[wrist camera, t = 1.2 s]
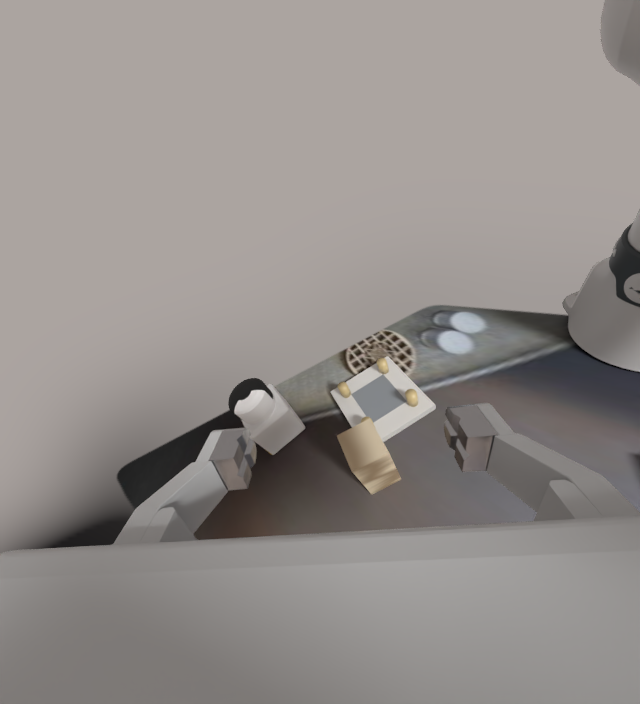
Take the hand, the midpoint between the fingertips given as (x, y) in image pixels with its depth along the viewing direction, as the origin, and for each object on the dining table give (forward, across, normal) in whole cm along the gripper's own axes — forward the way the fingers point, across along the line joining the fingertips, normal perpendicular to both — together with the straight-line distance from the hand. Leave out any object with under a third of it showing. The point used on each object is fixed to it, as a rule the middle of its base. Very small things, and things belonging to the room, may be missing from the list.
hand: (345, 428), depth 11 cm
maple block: (+16, -3, +25) cm, 29 cm away
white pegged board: (+26, -5, +21) cm, 33 cm away
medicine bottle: (+26, +13, +25) cm, 38 cm away
